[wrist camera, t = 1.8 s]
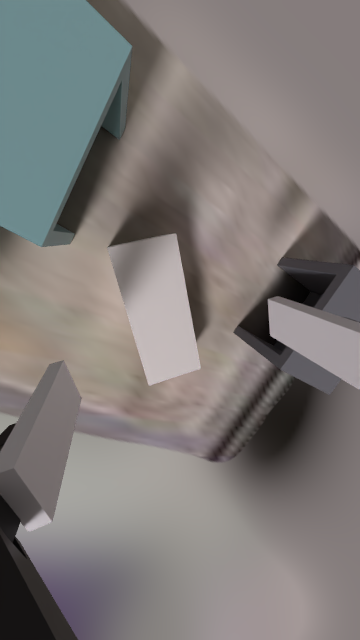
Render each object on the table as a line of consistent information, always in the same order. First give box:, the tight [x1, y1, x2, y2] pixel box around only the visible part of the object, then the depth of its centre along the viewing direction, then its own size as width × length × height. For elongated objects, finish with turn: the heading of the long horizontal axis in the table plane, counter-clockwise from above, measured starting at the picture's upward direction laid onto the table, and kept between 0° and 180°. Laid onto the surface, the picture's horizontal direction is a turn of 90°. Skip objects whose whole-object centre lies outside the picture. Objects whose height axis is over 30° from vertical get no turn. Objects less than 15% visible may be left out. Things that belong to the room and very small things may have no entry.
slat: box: [108, 233, 201, 386], centre depth 20 cm, size 12×5×4 cm, turn 11°
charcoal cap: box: [234, 258, 360, 394], centre depth 22 cm, size 7×9×8 cm
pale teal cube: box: [0, 0, 132, 247], centre depth 12 cm, size 7×9×8 cm
